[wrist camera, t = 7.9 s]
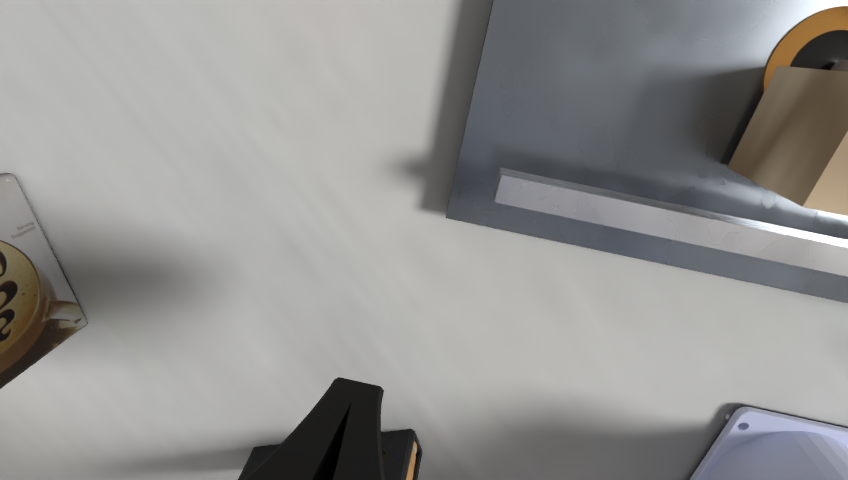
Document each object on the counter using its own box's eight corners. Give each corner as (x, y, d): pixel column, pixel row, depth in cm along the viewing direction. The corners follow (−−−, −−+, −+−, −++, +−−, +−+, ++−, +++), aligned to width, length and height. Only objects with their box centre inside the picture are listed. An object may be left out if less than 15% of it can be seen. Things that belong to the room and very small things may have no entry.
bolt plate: (1052, 335, 19) (1089, 355, 18) (447, 207, 20) (445, 218, 19) (1347, 38, 14) (1426, 39, 13) (520, -123, 15) (524, -137, 14)
